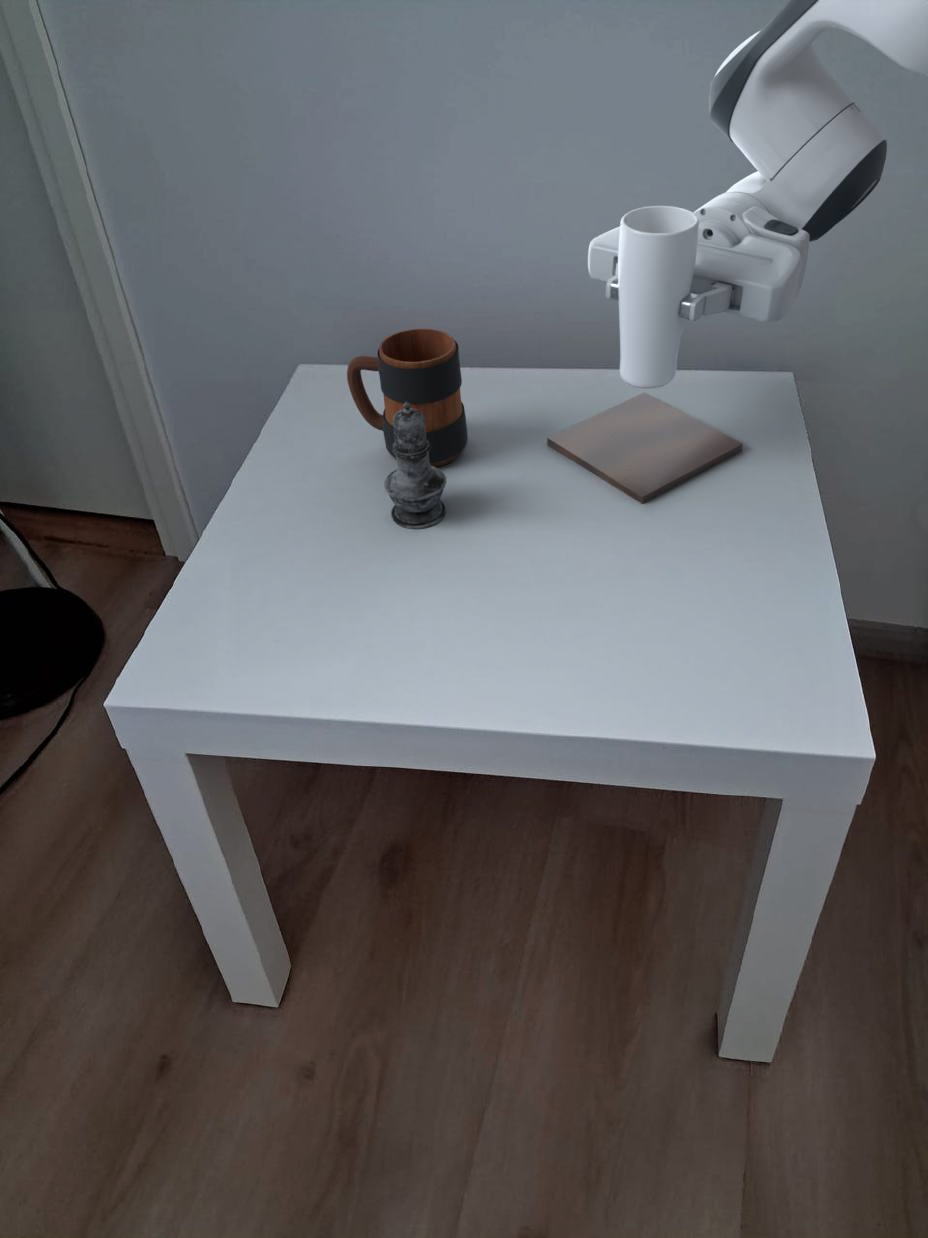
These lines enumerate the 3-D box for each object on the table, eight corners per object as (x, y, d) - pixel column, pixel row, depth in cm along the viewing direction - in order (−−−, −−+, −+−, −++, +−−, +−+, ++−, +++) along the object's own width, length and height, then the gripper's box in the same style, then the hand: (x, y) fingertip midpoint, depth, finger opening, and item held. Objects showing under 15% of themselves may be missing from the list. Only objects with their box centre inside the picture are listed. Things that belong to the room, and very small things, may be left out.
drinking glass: (686, 363, 92) (703, 206, 82) (678, 398, 87) (696, 236, 77) (617, 357, 94) (626, 203, 83) (606, 391, 89) (613, 232, 79)
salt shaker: (384, 499, 92) (369, 390, 84) (443, 490, 93) (434, 381, 85) (392, 535, 88) (377, 423, 80) (453, 525, 88) (445, 413, 80)
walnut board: (742, 450, 95) (743, 443, 94) (642, 504, 89) (642, 497, 89) (643, 398, 104) (644, 391, 103) (546, 444, 98) (546, 437, 97)
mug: (369, 422, 103) (355, 321, 95) (475, 429, 101) (470, 326, 93) (345, 465, 97) (327, 362, 89) (457, 474, 95) (450, 368, 87)
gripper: (631, 196, 95) (554, 244, 87) (827, 235, 85) (758, 292, 78) (627, 258, 99) (553, 308, 92) (813, 302, 89) (747, 362, 82)
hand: (649, 301), depth 85 cm, fingers closed on drinking glass, 6 cm apart
